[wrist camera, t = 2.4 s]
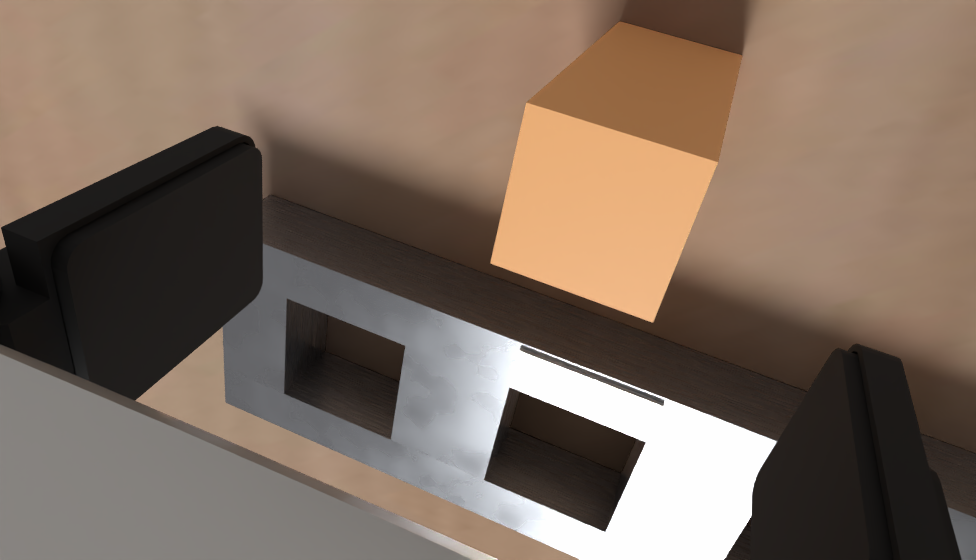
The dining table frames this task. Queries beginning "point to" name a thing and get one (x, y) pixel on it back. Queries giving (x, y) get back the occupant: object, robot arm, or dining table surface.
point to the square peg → (616, 167)
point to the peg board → (516, 398)
